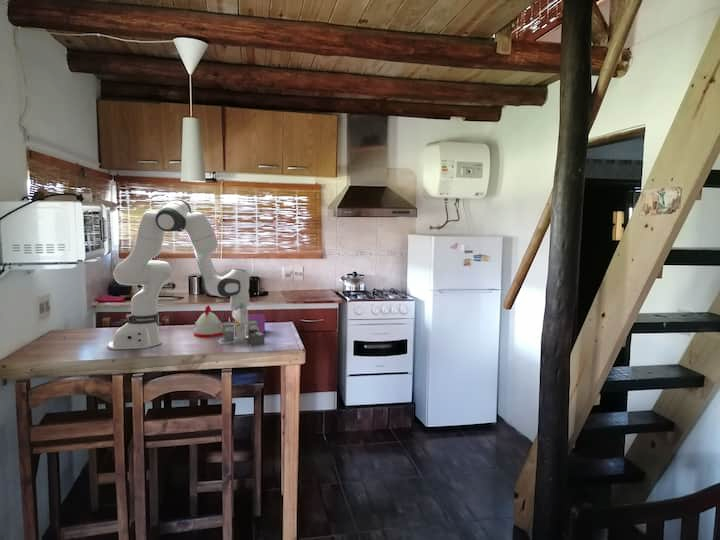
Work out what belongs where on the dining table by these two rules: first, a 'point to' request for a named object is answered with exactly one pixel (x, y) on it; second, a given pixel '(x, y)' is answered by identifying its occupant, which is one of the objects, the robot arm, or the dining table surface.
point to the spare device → (256, 339)
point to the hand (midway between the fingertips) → (239, 330)
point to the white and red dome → (208, 325)
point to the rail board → (229, 332)
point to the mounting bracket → (258, 321)
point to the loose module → (238, 331)
